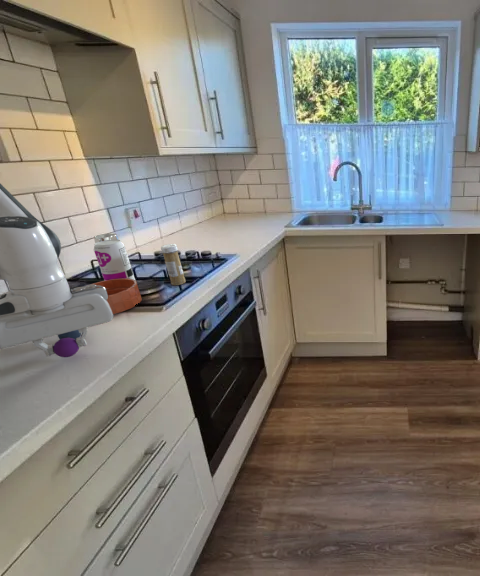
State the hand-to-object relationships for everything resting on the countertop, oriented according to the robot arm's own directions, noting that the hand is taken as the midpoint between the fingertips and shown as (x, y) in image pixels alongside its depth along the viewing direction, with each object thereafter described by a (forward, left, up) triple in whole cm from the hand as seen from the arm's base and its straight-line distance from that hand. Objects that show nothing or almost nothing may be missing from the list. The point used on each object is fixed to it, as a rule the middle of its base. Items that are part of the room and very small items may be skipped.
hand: (67, 349), depth 82 cm
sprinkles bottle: (-14, +42, -2) cm, 44 cm away
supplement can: (-32, +35, -2) cm, 47 cm away
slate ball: (-8, +5, -2) cm, 10 cm away
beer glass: (-42, +41, -2) cm, 59 cm away
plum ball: (0, 0, -2) cm, 2 cm away
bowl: (-18, +22, -2) cm, 28 cm away
